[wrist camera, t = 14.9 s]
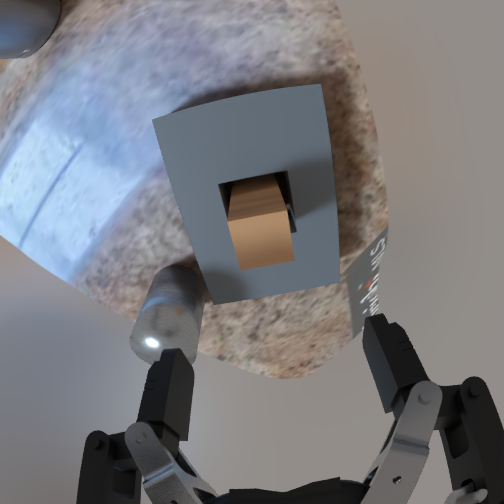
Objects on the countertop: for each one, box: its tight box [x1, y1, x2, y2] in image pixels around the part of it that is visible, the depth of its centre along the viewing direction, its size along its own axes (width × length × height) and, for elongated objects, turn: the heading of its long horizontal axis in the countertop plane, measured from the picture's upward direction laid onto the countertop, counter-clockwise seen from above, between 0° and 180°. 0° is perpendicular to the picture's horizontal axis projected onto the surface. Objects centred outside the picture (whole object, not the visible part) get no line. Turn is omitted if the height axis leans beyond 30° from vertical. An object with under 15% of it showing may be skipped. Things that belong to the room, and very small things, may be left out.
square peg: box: [227, 173, 295, 270], centre depth 23 cm, size 4×4×10 cm
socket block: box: [152, 84, 340, 305], centre depth 26 cm, size 20×14×4 cm
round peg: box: [130, 266, 207, 365], centre depth 29 cm, size 7×7×10 cm
